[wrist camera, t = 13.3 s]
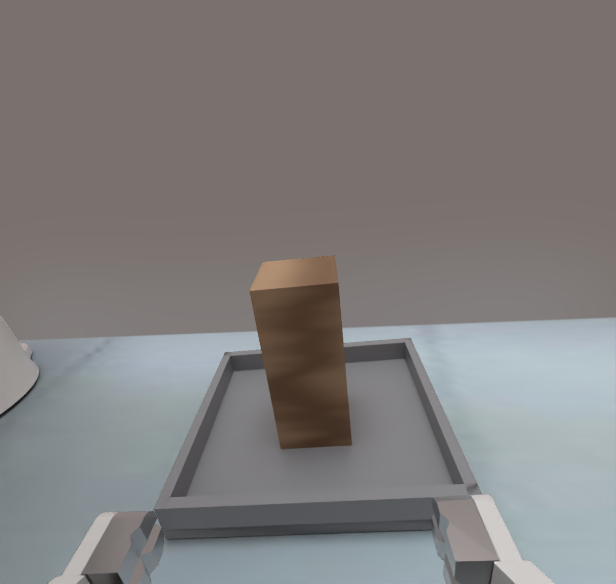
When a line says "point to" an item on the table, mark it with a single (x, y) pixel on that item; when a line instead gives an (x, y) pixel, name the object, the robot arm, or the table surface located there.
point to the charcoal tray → (316, 455)
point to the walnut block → (303, 350)
